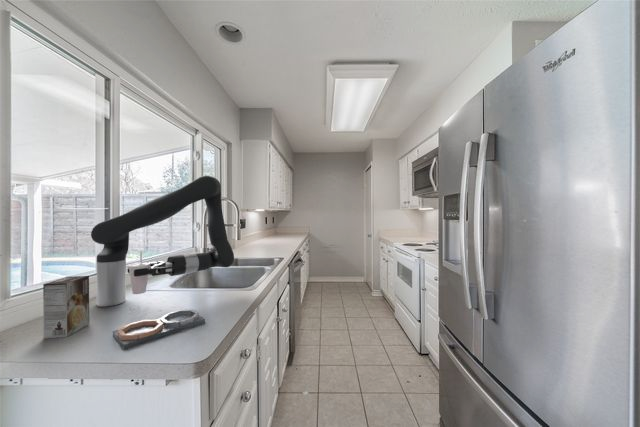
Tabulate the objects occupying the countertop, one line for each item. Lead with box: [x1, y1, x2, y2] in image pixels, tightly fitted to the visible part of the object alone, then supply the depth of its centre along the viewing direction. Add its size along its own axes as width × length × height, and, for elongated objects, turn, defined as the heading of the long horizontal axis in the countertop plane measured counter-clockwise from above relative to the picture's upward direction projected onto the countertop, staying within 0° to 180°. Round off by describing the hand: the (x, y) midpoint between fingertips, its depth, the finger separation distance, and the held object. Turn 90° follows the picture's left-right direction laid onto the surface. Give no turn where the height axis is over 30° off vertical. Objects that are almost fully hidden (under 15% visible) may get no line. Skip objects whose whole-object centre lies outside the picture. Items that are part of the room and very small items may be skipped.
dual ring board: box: [112, 314, 206, 351], centre depth 81 cm, size 12×22×2 cm, turn 140°
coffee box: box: [42, 275, 90, 339], centre depth 80 cm, size 9×6×16 cm
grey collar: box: [160, 309, 200, 326], centre depth 85 cm, size 10×10×1 cm
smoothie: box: [127, 251, 150, 295], centre depth 88 cm, size 6×6×14 cm
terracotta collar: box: [117, 318, 163, 340], centre depth 77 cm, size 10×10×1 cm
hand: (131, 271), depth 86 cm, fingers closed on smoothie, 6 cm apart
